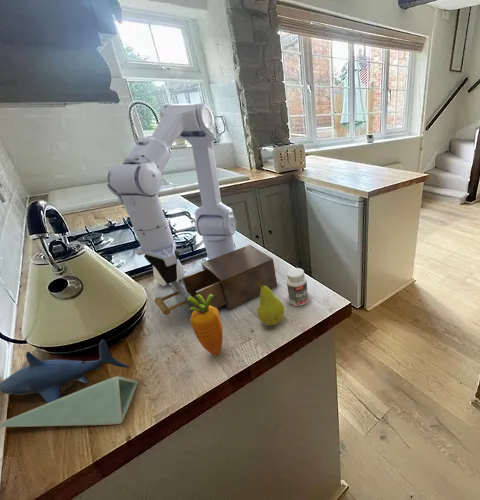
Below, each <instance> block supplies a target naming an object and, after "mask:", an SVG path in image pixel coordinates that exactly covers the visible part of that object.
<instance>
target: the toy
mask: <svg viewBox="0 0 480 500" xmlns="http://www.w3.org/2000/svg"><path fill="white" fill-rule="evenodd" d="M98 345H99V346H98V353H99V359H96V360H95V359H94V360H86V361H85V360H70V359H57V358H55V359H54V358H53V359H47V360H42V359H40V358H38V357H36V356H35V354H33V353H32V352H30V351H26V353H25V357H26V360H27V362H28V365H26V366H24V367H22V368H20V369H18V370H17V371H15V372H14V373H12V374H10V375H9V376H8V377H6V378H4V380H2V381H1V382H0V391H1V392H0V393H2V394H6V395H16V396H24V395H31V394H37V393H38V394H39V395H40V396H41V397H42V399H43V400H44V401H45V402H46V404H47V403H50V402H52V401H55V400H57V399H60V398H61V397H60V392H61V391H60V390H61V389H62V387H63V386H65V385H67V384H69V383H71V382H73V381H79V382H81V383H84V384H88V383H89V380H88V379H87V378H86V377H85V376H86V375H87V374H88V373H90V372H92V371H94V370H98V369H99V370H101V369H103V367H102V366H101V365H103V364H108V365H112V366H114V367H120V368H130V366H129V365H128V364H126V363H123V362H121V361H119V360H117V359H116V358H114V356H113V355H112V354H111V352H110V348H109V346H108V344H107V341H106V340H105V339H104V338H103V339H101V340H100V342H99V344H98Z"/></svg>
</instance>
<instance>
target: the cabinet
mask: <svg viewBox="0 0 480 500" xmlns="http://www.w3.org/2000/svg"><path fill="white" fill-rule="evenodd" d="M201 266H202V269H207V270H208V271H209V272H210V273H211V274H212V275H213V276H215V277H216V278H217V279H218V280H219V281H220V282H222V287H223V290H224V294H225V298H226V302H227V304H225V305H224V306H225V307H226V308H227V309H228V310H229V311H231V310H234V309H235V308H237V307H238V306H241V305H243V304H245V303H247V302H249V301H251V300H253V299H254V298H257V297H260V292H261V287H260V286H259V285H257V284H256V282H258V283H259V284H260V285H261V286H267V287H268V288H269V289H270V290H271V291H272V290H273V289H275V288H277V287H278V281H277V275H276V269H275V262H274V258H273V257H271V256H270V255H268V254H266V253H265V252H263V251H261V250H259V249H258V248H257V247H254V246H253V245H251V244H249V245H246V246H243V247H241V248H237V249H235V251H232V252H229V253H227V254H224V255H221V256H219V257H216V258H213V259H211V260H208V261H203V262H201Z"/></svg>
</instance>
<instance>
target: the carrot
mask: <svg viewBox="0 0 480 500" xmlns="http://www.w3.org/2000/svg"><path fill="white" fill-rule="evenodd" d="M196 297H197V298H198V300H199V301H200V302H201V304H202V305H201V304H200V303H199V302H198V301H197V300H196V299H195V298H193V297H192V296H190V297H188V299H187V301H189V302H190V303H192V304H193V305H195V307H191V308H190V310H195V311H194V312H193V313H192V315H191V318H189V319H190V320H189V321H190V325H191V328H192V330H193V333H194V335H195V337H196V339H197V340H198V342H199V344H200V345H201V346H202V347H203V349H205V350H206V351H207V352H208V353H210V354H212V355H213V356H214V357H216V356H219V355H220V353H221V351H222V346H223V341H224V340H223V338H224V337H223V335H224V333H223V323H222V318H221V314H220V311H219V308H215V307H212V306H210V302H211V300H212V298H213V295H211V294H210V295H209V296H208V297H207V300H206V303H205V300H204V299H203V297H202V296H201V295H200V294H199V295H196Z"/></svg>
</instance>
